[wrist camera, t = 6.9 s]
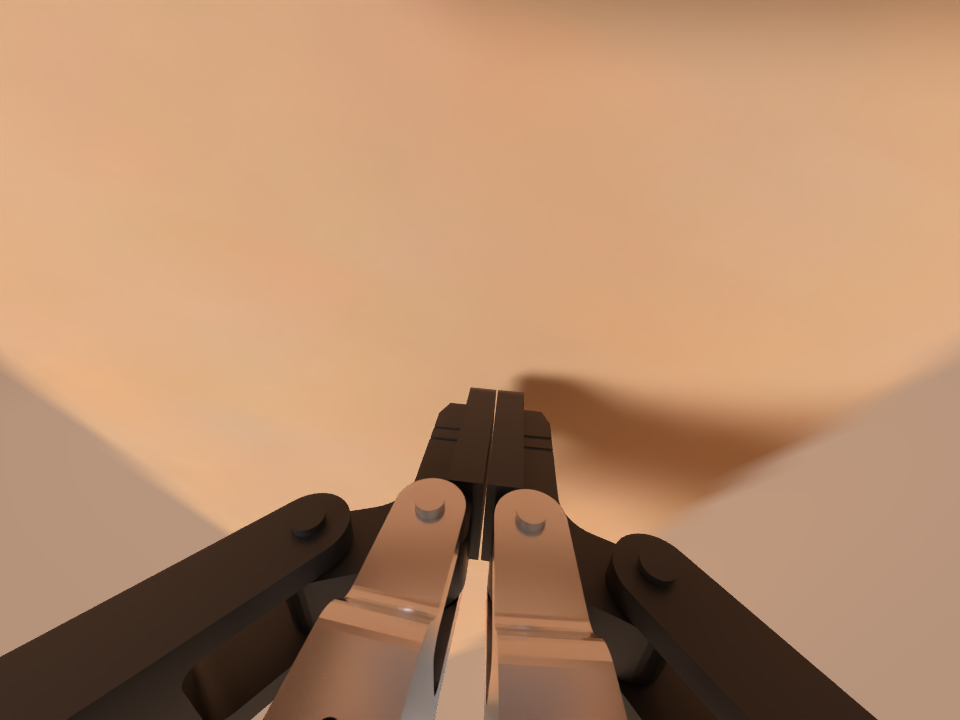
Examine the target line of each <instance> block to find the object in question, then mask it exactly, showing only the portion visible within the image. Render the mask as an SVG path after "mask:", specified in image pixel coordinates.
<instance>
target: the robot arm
mask: <svg viewBox="0 0 960 720" xmlns="http://www.w3.org/2000/svg"><path fill="white" fill-rule="evenodd" d="M495 398H496V390H491V389H481V388H471V389H470V392H469V396H468V400H467V404H466V405H465V404H456V403H450V404H449V405H448V406H447V407H445V408H444V409H443V410H442V411H441V412H440V413H439V415H438V418H437V421H436V424H435V428H434V429H433V432H432V435H431V439H430V440H429V443H428V446H427V449H426V451H425V454H424V457H423V460H422V462H421V465H420V468H419V471H418V474H417V476H416V479H415V481H414V482H413V483H411V484H410V485H408V486H407V487H405V488H404V489H403V490H402V491H401V492H400V493H399V495H398V496H397V498H396V500H395V501H394V502H392V503H389V504H386V505H383V506H379V507H374V508H368V509H361V510H355V511H350V510H349V507H348V505H347V503H346V502H345V501H344V500H343V499H342V498H340V497H338V496H336V495H333V494H328V493H317V494H311V495H307V496H304V497H301V498H299V499H297V500H295V501H293V502H291V503H289V504H287V505H285V506H283V507H281V508H280V509H278V510H276V511H274V512H272V513H270V514H268V515H266V516H264V517H263V518H261V519H259V520H257V521H255V522H253V523H251V524H249V525H248V526H246V527H244V528H242V529H240V530H238V531H236V532H234V533H233V534H231V535H229V536H227V537H225V538H223V539H221V540H219V541H217V542H216V543H214V544H212V545H210V546H208V547H207V548H204V549H202V550H201V551H199V552H197V553H195V554H193V555H191V556H189V557H187V558H186V559H184V560H182V561H180V562H178V563H176V564H174V565H172V566H170V567H169V568H167V569H165V570H163V571H161V572H159V573H157V574H156V575H154V576H152V577H150V578H148V579H146V580H144V581H142V582H141V583H139V584H137V585H135V586H133V587H131V588H129V589H127V590H125V591H123V592H122V593H120V594H118V595H116V596H114V597H112V598H110V599H108V600H107V601H105V602H103V603H101V604H99V605H97V606H95V607H93V608H92V609H90V610H88V611H86V612H84V613H82V614H80V615H78V616H77V617H75V618H73V619H71V620H69V621H67V622H65V623H63V624H61V625H60V626H58V627H56V628H54V629H52V630H50V631H48V632H46V633H45V634H43V635H41V636H39V637H37V638H35V639H33V640H31V641H30V642H28V643H26V644H24V645H22V646H20V647H18V648H16V649H15V650H13V651H11V652H9V653H7V654H5V655H3V656H1V657H0V720H251V719H252V718H253V717H254V716H255V715H257V714H258V713H259V712H260V711H261V710H263V709H264V708H265V707H266V706H267V705H268V704H270V703H271V702H272V701H273V702H272V704H271V706H270V707H269V709H268V711H267V713H266V715H265V717H264V719H263V720H435V718H436V711H437V705H438V700H439V695H440V691H441V686H442V682H443V677H444V673H445V668H446V664H447V659H448V655H449V650H450V646H451V642H452V637H453V633H454V628H455V624H456V619H457V615H458V610H459V606H460V601H461V596H462V589H463V587H464V584H465V580H466V573H467V566H468V559H475V560H478V556H479V548H480V540H481V531H482V523H483V514H484V506H485V516H484V529H483V542H482V555H481V560H484V561H490V562H489V574H488V586H487V596H486V636H485V698H484V720H877V719H876V718H875V717H874V716H872V715H871V714H870V713H869V712H868V711H866V710H865V709H864V708H863V707H862V706H861V705H860V704H858V703H857V702H856V701H855V700H854V699H852V698H851V697H850V696H849V695H848V694H847V693H846V692H844V691H843V690H842V689H841V688H840V687H838V686H837V685H836V684H835V683H834V682H833V681H831V680H830V679H829V678H828V677H827V676H826V675H824V674H823V673H822V672H821V671H820V670H819V669H817V668H816V667H815V666H814V665H812V664H811V663H810V662H809V661H808V660H807V659H806V658H804V657H803V656H802V655H801V654H800V653H799V652H797V651H796V650H795V649H794V648H793V647H792V646H790V645H789V644H788V643H787V642H786V641H785V640H783V639H782V638H781V637H780V636H779V635H778V634H776V633H775V632H774V631H773V630H772V629H770V628H769V627H768V626H767V625H766V624H765V623H763V622H762V621H761V620H760V619H759V618H758V617H756V616H755V615H754V614H753V613H752V612H751V611H749V610H748V609H747V608H746V607H745V606H744V605H742V604H741V603H740V602H739V601H737V600H736V599H735V598H734V597H733V596H732V595H731V594H729V593H728V592H727V591H726V590H725V589H724V588H722V587H721V586H720V585H719V584H718V583H717V582H715V581H714V580H713V579H712V578H710V577H709V576H708V575H707V574H706V573H705V572H704V571H702V570H701V569H700V568H699V567H698V566H697V565H695V564H694V563H693V562H692V561H691V560H690V559H688V558H687V557H686V556H685V555H684V554H682V553H681V552H680V551H679V550H678V549H676V548H675V547H674V546H672V545H671V544H669V543H667V542H666V541H664V540H662V539H660V538H657V537H654V536H651V535H647V534H630V535H627V536H625V537H623V538H621V539H620V540H619V541H618V542H617V543H616V544H615V543H612V542H610V541H607V540H605V539H603V538H600V537H598V536H595V535H593V534H591V533H589V532H587V531H585V530H583V529H581V528H580V527H578V526H577V525H576V524H575V523H573V522H572V521H571V520H570V519H569V518H568V517H567V515H566V514H565V512H564V510H563V509H562V507H561V506H560V503H559V500H558V493H557V484H556V475H555V466H554V457H553V452H552V451H553V448H552V441H551V429H550V424H549V422H548V421H547V420H546V418H545V417H544V415H543V414H542V413H541V412H535V411H525V410H524V393H523V392H512V391H502V390H498V396H497V405H496V413H495V421H494V411H495ZM493 423H494V430H493ZM492 435H493V438H492ZM491 446H492V447H491ZM486 489H487V491H486ZM485 498H486V504H485Z"/></svg>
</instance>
